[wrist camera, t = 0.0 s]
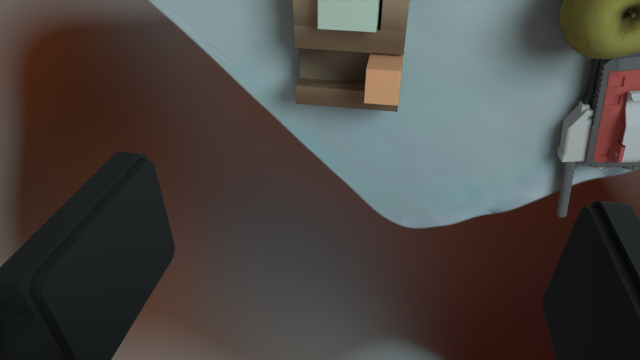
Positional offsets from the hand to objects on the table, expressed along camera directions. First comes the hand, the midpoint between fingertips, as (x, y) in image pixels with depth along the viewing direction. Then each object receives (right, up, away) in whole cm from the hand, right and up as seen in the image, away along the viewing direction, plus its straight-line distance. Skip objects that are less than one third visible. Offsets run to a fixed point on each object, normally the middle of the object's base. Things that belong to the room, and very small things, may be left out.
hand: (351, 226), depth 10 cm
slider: (+6, +12, +33) cm, 36 cm away
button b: (+2, +18, +30) cm, 35 cm away
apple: (+23, +17, +29) cm, 41 cm away
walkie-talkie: (+28, +6, +36) cm, 46 cm away
